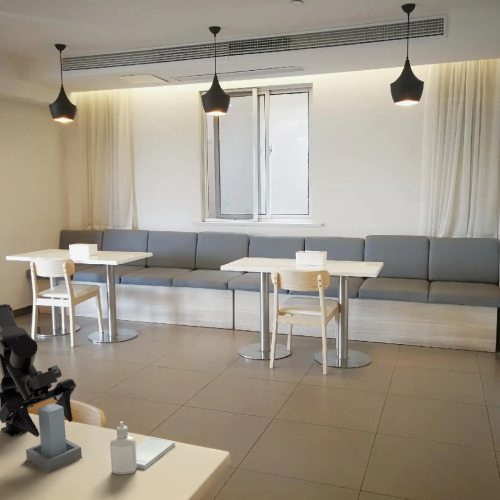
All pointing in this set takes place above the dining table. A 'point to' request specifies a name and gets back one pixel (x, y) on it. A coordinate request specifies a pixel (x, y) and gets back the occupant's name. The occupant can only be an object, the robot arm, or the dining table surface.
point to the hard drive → (151, 451)
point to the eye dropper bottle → (123, 452)
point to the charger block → (52, 430)
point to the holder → (55, 462)
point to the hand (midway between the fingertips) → (55, 428)
